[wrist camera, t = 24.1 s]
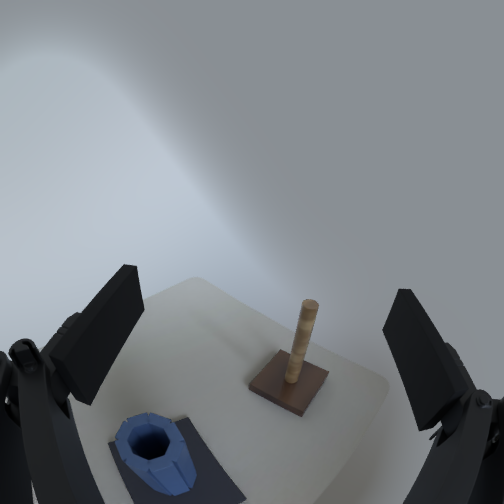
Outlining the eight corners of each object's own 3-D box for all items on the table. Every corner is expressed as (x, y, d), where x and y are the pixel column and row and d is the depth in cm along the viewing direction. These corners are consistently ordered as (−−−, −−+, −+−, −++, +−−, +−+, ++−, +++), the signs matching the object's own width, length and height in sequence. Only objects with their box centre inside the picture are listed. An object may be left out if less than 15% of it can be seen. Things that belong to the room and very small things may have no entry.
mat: (246, 499, 21) (246, 498, 20) (154, 535, 14) (152, 534, 14) (188, 419, 31) (187, 416, 30) (109, 444, 24) (107, 442, 24)
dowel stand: (326, 377, 39) (355, 299, 32) (301, 417, 32) (331, 341, 25) (279, 355, 44) (293, 276, 37) (248, 389, 37) (257, 308, 30)
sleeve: (205, 484, 22) (195, 456, 17) (159, 501, 18) (130, 478, 14) (180, 447, 26) (165, 405, 21) (138, 461, 23) (107, 423, 18)
